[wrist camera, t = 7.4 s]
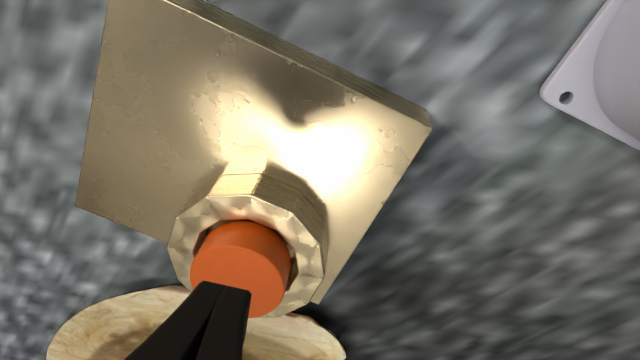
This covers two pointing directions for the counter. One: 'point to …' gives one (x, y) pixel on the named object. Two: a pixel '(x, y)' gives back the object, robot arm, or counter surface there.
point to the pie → (157, 305)
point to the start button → (245, 263)
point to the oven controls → (238, 140)
